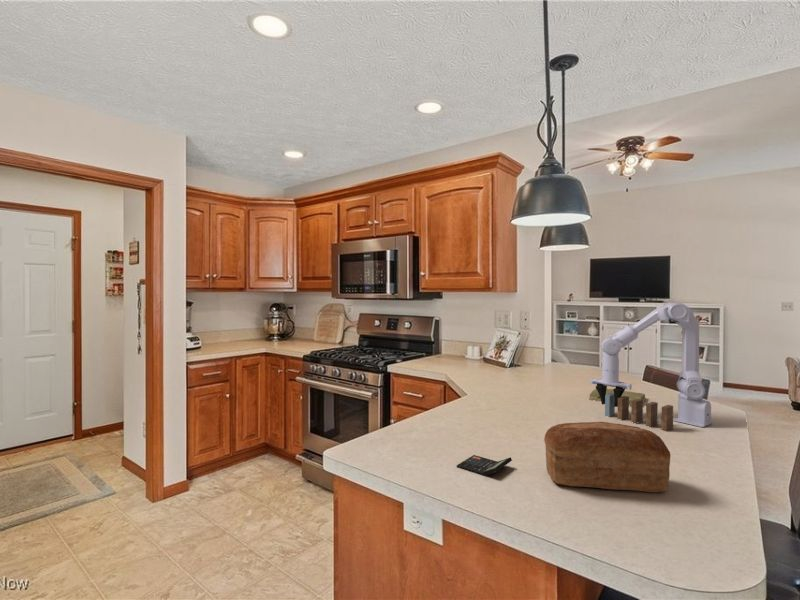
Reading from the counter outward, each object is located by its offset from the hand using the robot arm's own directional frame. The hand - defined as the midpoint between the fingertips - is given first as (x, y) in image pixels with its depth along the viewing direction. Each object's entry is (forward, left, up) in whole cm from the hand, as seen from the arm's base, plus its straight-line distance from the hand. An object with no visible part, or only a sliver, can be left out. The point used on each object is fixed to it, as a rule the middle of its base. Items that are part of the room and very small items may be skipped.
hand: (610, 405), depth 159 cm
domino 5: (-20, 0, -4) cm, 20 cm away
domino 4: (-15, 0, -4) cm, 16 cm away
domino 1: (0, 0, -4) cm, 4 cm away
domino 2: (-5, 0, -4) cm, 6 cm away
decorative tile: (+11, -26, -5) cm, 29 cm away
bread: (-29, +57, -4) cm, 64 cm away
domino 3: (-10, 0, -4) cm, 11 cm away
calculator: (-6, +75, -4) cm, 75 cm away
